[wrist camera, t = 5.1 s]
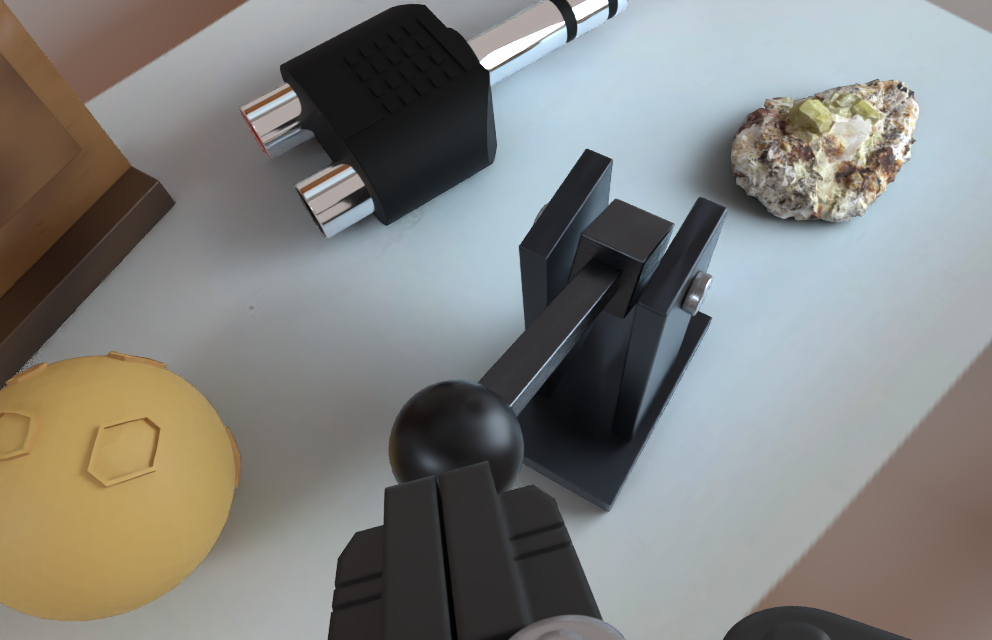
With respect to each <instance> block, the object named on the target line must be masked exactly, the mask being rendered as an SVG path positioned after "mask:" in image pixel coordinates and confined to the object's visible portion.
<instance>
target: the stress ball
mask: <svg viewBox="0 0 992 640" xmlns="http://www.w3.org/2000/svg"><path fill="white" fill-rule="evenodd" d="M5 383H6V384H7V386H6V387H5V388H3V389H2V390H0V602H1V603H2V604H4V605H6V606H8V607H10V608H13V609H15V610H17V611H20V612H22V613H25V614H29V615H32V616H36V617H39V618H43V619H51V620H60V621H89V620H96V619H103V618H107V617H112V616H116V615H120V614H124V613H127V612H129V611H132V610H134V609H137V608H139V607H142V606H144V605H146V604H148V603H150V602H152V601H154V600H156V599H158V598H159V597H161V596H162V595H164V594H166V593H167V592H169V591H170V590H172V589H173V588H175V587H176V586H177V585H178V584H179V583H181V582H182V581H183V580H184V579H185V578H187V577H188V576H189V575H190V574H191V573H192V572H193V571H194V570H195V569H196V568H197V566H198V565H199V564H200V563H201V562H202V561H203V560H204V559H205V557H206V556H207V555H208V553H209V552H210V550H211V549H212V547H213V546H214V544H215V543H216V541H217V539H218V538H219V536H220V534H221V532H222V529H223V527H224V525H225V523H226V521H227V518H228V515H229V512H230V508H231V505H232V500H233V495H234V489H235V488H237V487H238V483H239V476H240V454H239V450H238V447H237V444H236V441H235V439H234V437H233V436H232V434H231V432H230V430H229V428H228V427H224V425H223V423H222V421H221V419H220V417H219V416H218V414H217V412H216V411H215V409H214V408H213V407H212V406H211V404H210V403H209V402H208V401H207V399H206V398H205V397H204V396H203V395H202V394H201V393H200V392H199V391H198V390H197V389H196V388H195V387H194V386H192V385H191V384H189V383H188V382H187V381H185V380H184V379H182V378H181V377H179V376H178V375H176V374H174V373H172V372H170V371H169V370H167V369H166V364H164V363H161V362H158V361H155V360H152V359H149V358H144V357H137V356H130V355H126V354H121V353H117V352H115V351H111V352H109V353H108V356H87V357H77V358H72V359H68V360H63V361H59V362H55V363H52V364H49V365H48V364H47V362H45V363H41V364H38V365H35V366H33V367H31V368H29V369H27V370H25V371H23V372H21V373H19V374H17V375H15V376H14V377H12V378H11V379H9V380H8V381H6V382H5Z"/></svg>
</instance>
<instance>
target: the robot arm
mask: <svg viewBox="0 0 992 640" xmlns="http://www.w3.org/2000/svg"><path fill="white" fill-rule="evenodd" d="M439 479H440V485H439V482H438V479H437V477H436V475H432V476H428V477H424V478H421V479H417V480H413V481H409V482H406V483H402V484H398V485H395V486H391V487H387V488H385V495H384V525H381V526H378V527H374V528H370V529H367V530H363V531H359V532H356V533H355V534H354V536H353V537H352V539H351V540H350V542H349V543H348V544H347V546H346V547H345V549H344V550H343V552H342V553H341V555H340V556H339V558H338V562H337V570H336V578H335V589H336V590H334V594H333V602H332V609H333V612H331V618H330V626H329V634H328V640H625V638H624V637H623V635H622V634H621V633H620V632H619V631H618V630H617V629H616V628H614V627H613V626H611V625H610V624H608V623H606V622H604V621H603V619H602V617H601V614H600V611H599V609H598V606H597V604H596V601H595V599H594V596H593V594H592V591H591V589H590V586H589V584H588V581H587V579H586V576H585V574H584V571H583V569H582V566H581V564H580V561H579V559H578V556H577V554H576V551H575V549H574V546H573V545H572V541H571V538H570V536H569V533H568V531H567V528H566V526H565V524H564V521H563V518H562V516H561V513H560V511H559V508H558V506H557V503H556V501H555V499H554V498H552V497H551V496H549V495H548V494H546V493H545V492H543V491H542V490H540V489H539V488H538V487H536V486H535V485H529V486H526V487H522V488H518V489H515V490H511V491H507V492H503V493H500V494H497V493H496V489H495V485H494V481H493V477H492V473H491V470H490V466H489V462H488V461H484V462H481V463H477V464H473V465H469V466H466V467H462V468H458V469H455V470H451V471H447V472H443V473H440V474H439ZM723 640H911V639H908V638H905V637H902V636H899V635H896V634H893V633H890V632H887V631H884V630H881V629H878V628H875V627H872V626H869V625H866V624H864V623H861V622H858V621H855V620H852V619H849V618H846V617H843V616H840V615H837V614H834V613H831V612H827V611H824V610H820V609H816V608H810V607H801V606H800V607H799V606H784V607H775V608H770V609H765V610H762V611H759V612H756V613H753V614H751V615H749V616H747V617H745V618H743V619H742V620H741V621H739V622H738V623H736V624H735V625H734V626H733V627H732V628H731V629H730V630H729V631H728V632H727V634H726V636H725V637H724V639H723Z"/></svg>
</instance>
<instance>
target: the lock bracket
mask: <svg viewBox="0 0 992 640" xmlns="http://www.w3.org/2000/svg"><path fill="white" fill-rule="evenodd" d="M612 163H613V160H612V159H611V158H608V157H606V156H603V155H601V154H599V153H596V152H594V151H592V150H589V149H586V150H585V151H584V153H583V154H582V156H581V157H580V158H579V160H578V161H577V163H576V164H575V166H574V167H573V169H572V170H571V172H570V173H569V174H568V176H567V177H566V179H565V180H564V182H563V183H562V185H561V186H560V187H559V189H558V190H557V192H556V193H555V195H554V196H553V198H552V199H551V201H550V202H549V203H547V204H546V205H544V206H543V208H542V209H541V210H540V212H539V213H538V215H537V217H536V219H535V221H534V224H533V227H532V228H531V229H530V231H529V232H528V234H527V235H526V237H525V238H524V240H523V241H522V243H521V244H520V245H519V255H520V268H521V281H522V293H523V306H524V319H525V330H526V329H527V328H528V327H529V326H530V325H531V324H532V323H533V322H534V321H535V319H536V318H537V317H538V316H539V315H540V314H541V313H542V312H543V311H544V310H545V309H546V307H547V306H548V305H549V304H550V303H551V302H552V301H553V300H554V299H555V298H556V296H557V295H558V294H559V293H560V292H561V291H562V290H563V289H564V288H565V287H566V285H567V281H568V278H569V274H570V271H571V267H572V264H573V260H574V256H575V253H576V249H577V246H578V242H579V239H580V235H581V233H582V232H583V231H584V230H585V229H586V228H587V227H588V226H589V225H590V224H591V223H592V222H593V221H594V220H595V219H596V218H597V217H598V216H599V215H600V214H601V213H602V212H603V211H604V210H605V209H606V208H607V207H608V201H609V191H610V182H611V172H612ZM726 214H727V208H726V207H724V206H721V205H719V204H717V203H714V202H712V201H710V200H707V199H705V198H702V197H699V198H698V199H697V200H696V202H695V204H694V206H693V207H692V209H691V211H690V212H689V214H688V216H687V217H686V219H685V221H684V222H683V224H682V226H681V227H680V229H679V231H678V233H677V234H676V236H675V238H674V239H673V241H672V243H671V244H670V246H669V248H668V249H667V251H666V253H665V254H664V256H663V258H662V259H661V261H660V263H659V265H658V266H657V268H656V270H655V271H654V273H653V275H652V276H651V278H650V280H649V281H648V283H647V285H646V286H645V288H644V290H643V292H642V293H641V295H640V297H639V298H638V300H637V303H636V304H635V305H634V307H633V308H632V309H631V311H630V312H629V313H628V315H627V316H626V317H625V319H621V318H619V317H617V316H615V315H613V314H611V313H608V312H606V311H604V310H602V312H601V313H600V314H599V315H598V317H597V318H596V319H595V320H594V322H593V323H592V324H591V325H590V326H589V328H588V329H587V330H586V331H585V333H584V334H583V335H582V336H581V338H580V339H579V340H578V341H577V343H576V344H575V345H574V346H573V348H572V349H571V350H570V351H569V353H568V354H567V355H566V356H565V357H564V359H563V360H562V361H561V362H560V364H559V365H558V366H557V367H556V369H555V370H554V371H553V372H552V374H551V375H550V376H549V377H548V379H547V380H546V381H545V382H544V384H543V385H542V386H541V387H540V388H539V390H538V391H537V392H536V393H535V395H534V396H533V397H532V398H531V400H530V401H529V402H528V403H527V405H526V406H525V407H524V408H523V410H522V411H521V412H520V413H519V415H518V416H517V419H518V421H519V423H520V426H521V430H522V434H523V440H524V457H523V462H522V463H524V464H525V465H527V466H529V467H531V468H532V469H534V470H536V471H538V472H539V473H541V474H543V475H545V476H546V477H548V478H550V479H552V480H553V481H555V482H557V483H559V484H560V485H562V486H564V487H566V488H567V489H569V490H571V491H573V492H574V493H576V494H578V495H580V496H581V497H583V498H585V499H587V500H588V501H590V502H592V503H594V504H595V505H597V506H599V507H601V508H602V509H604V510H606V511H608V512H609V511H610V509H611V508H612V506H613V504H614V502H615V500H616V498H617V496H618V495H619V493H620V491H621V489H622V487H623V485H624V483H625V482H626V480H627V478H628V476H629V474H630V472H631V470H632V469H633V467H634V465H635V463H636V461H637V459H638V458H639V456H640V454H641V452H642V450H643V448H644V446H645V445H646V443H647V441H648V439H649V437H650V435H651V433H652V432H653V430H654V428H655V426H656V424H657V422H658V420H659V419H660V417H661V415H662V413H663V411H664V409H665V407H666V406H667V404H668V402H669V400H670V398H671V396H672V394H673V393H674V391H675V389H676V387H677V385H678V383H679V382H680V380H681V378H682V376H683V374H684V372H685V370H686V369H687V367H688V365H689V363H690V361H691V359H692V357H693V356H694V354H695V352H696V350H697V348H698V346H699V344H700V343H701V341H702V339H703V337H704V335H705V333H706V331H707V330H708V327H709V325H710V322H711V320H712V317H710V316H708V315H706V314H704V313H701V312H699V311H698V310H699V308H700V307H701V305H702V303H703V301H704V299H705V297H706V295H707V293H708V291H709V289H710V286H711V284H712V282H713V276H712V275H709V274H707V273H706V272H707V269H708V266H709V263H710V260H711V257H712V254H713V251H714V249H715V246H716V243H717V240H718V237H719V234H720V231H721V228H722V225H723V223H724V220H725V217H726Z"/></svg>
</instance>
